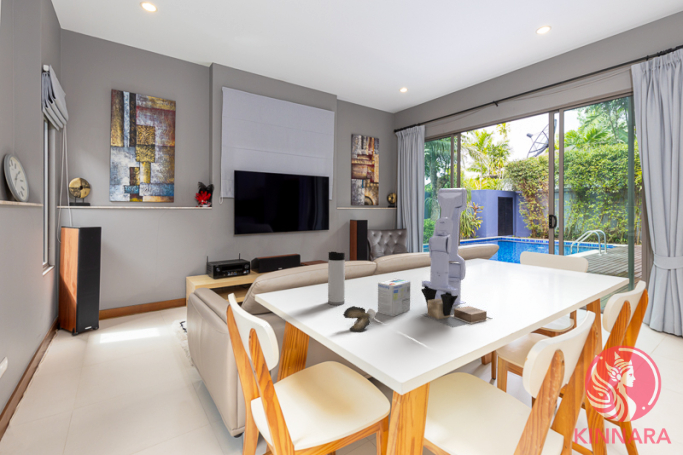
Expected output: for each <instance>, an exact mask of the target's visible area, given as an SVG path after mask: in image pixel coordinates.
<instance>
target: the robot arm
mask: <svg viewBox="0 0 683 455" xmlns="http://www.w3.org/2000/svg"><path fill="white" fill-rule="evenodd" d="M467 200H468V190H467V188H466V187H452V188H451V187H450V188H442V187H441V188H439V189H438V192H437V203H438V204H439V207H440V209H441V210H440V217H439V218H437V219H436V221H435V225H434V229H433V230H434V231H433V233H432V236H430V237H429V239H428V251H429V258H430V279H429V280H421V287H423V288H421V294H423V296H424V299H425V302H426V307H427V308H428V300H432V299H438V298H439V299H442V303H443V315H444V316H449V315H450V312H451V309H453V306H457V305H463V304H466V302H465V301H463V300H461V297H462V296H461V293H462V292H461V290H462V289H461V288H462V281H464V279H465V278H466V271H467V269H466V268H467V267H466V261H465V260H466V259H464V258H463V257H462V256H460V255H459V243H460V242H459V241H460V238H459V237H460V219H461V214H462V213H463V212H464V211H466V208H467V203H468V202H467Z"/></svg>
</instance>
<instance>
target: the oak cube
mask: <svg viewBox="0 0 683 455" xmlns="http://www.w3.org/2000/svg"><path fill="white" fill-rule="evenodd" d="M427 313H428V314H427V315H429V316H431V317H434V318H436V319H442V318H447V317H450V315H449V316H444V315H443V303H442V299H439V298H438V299H432V300H428V307H427Z"/></svg>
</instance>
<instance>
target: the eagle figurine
mask: <svg viewBox="0 0 683 455" xmlns="http://www.w3.org/2000/svg"><path fill="white" fill-rule="evenodd" d="M342 315H343V317H344V319H356V320H355V321H354V324H353V325H352V326H351V327H349V331H350V332H351V333H359V332H360V333H361V332H362V331H364V330H365V329H367V326H368V325H370V323H371V321H370V320H374V319H375V317H376V311H375V310H374V309H372V308H369V309H368V310H367V311H366V309H365V308H364V307H360V306H355V305H353V306H350V307H348V308H346V309H345V310H344V312H343V314H342Z"/></svg>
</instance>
